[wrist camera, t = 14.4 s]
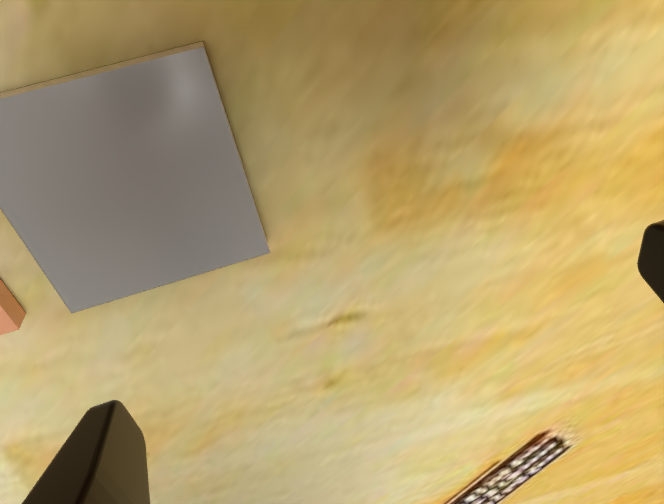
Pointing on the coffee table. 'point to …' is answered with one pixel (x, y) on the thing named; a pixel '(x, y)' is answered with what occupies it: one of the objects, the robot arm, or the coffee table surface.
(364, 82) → the coffee table surface
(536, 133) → the coffee table surface
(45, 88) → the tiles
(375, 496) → the coffee table surface
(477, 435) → the coffee table surface
